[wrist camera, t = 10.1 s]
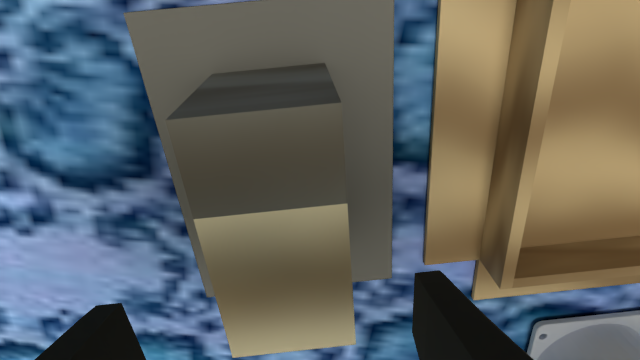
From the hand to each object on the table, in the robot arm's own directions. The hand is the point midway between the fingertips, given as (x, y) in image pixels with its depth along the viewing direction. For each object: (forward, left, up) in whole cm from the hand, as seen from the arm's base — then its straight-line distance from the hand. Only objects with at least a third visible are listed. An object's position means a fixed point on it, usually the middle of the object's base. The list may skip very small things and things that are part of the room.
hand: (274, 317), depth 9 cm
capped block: (0, 0, -8) cm, 9 cm away
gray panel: (0, 0, -9) cm, 9 cm away
